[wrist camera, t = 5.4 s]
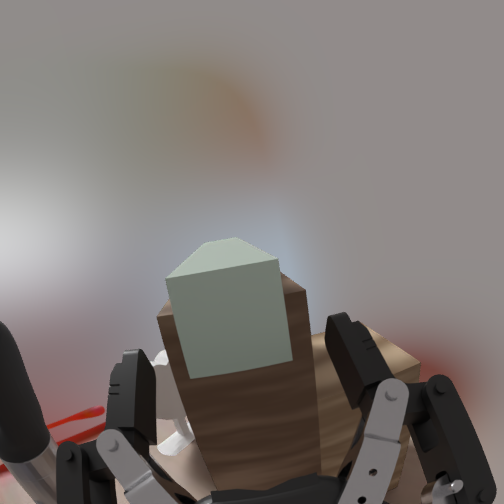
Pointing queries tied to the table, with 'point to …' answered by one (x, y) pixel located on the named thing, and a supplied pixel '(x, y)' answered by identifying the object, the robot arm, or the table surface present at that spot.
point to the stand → (277, 407)
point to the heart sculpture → (170, 407)
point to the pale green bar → (229, 309)
